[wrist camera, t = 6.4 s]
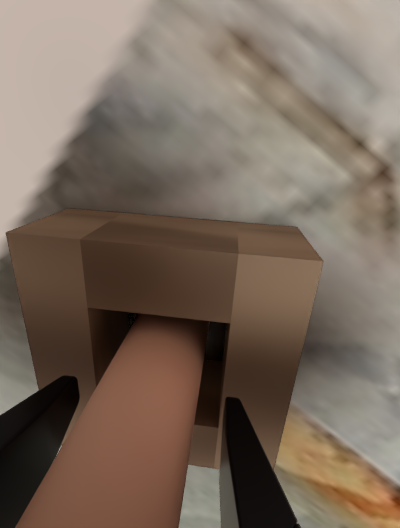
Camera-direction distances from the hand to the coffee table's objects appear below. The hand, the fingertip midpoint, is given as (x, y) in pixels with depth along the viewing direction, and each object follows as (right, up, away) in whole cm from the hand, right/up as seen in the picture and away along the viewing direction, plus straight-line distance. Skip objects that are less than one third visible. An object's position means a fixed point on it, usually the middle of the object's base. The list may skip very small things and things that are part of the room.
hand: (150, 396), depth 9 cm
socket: (0, +2, +4) cm, 4 cm away
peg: (0, +2, +4) cm, 5 cm away
